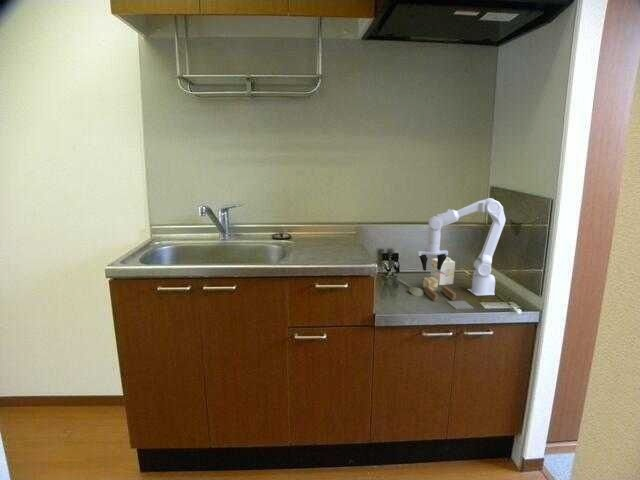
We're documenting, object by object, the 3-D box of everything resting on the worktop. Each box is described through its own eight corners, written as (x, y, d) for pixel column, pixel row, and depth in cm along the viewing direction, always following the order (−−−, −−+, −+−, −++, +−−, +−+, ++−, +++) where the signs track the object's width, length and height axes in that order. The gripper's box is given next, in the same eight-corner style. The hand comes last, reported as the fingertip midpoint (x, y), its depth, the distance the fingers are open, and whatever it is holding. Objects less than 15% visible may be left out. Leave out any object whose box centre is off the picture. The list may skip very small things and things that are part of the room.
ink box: (429, 280, 202) (431, 255, 200) (443, 278, 205) (445, 253, 202) (439, 285, 194) (441, 259, 191) (453, 284, 197) (456, 258, 194)
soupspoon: (413, 298, 179) (426, 298, 181) (414, 291, 178) (427, 291, 180) (393, 281, 200) (405, 281, 201) (393, 275, 199) (405, 275, 200)
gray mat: (464, 301, 173) (464, 300, 173) (473, 308, 166) (473, 307, 165) (447, 302, 172) (447, 301, 172) (455, 309, 164) (455, 308, 164)
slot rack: (444, 291, 185) (445, 285, 185) (455, 300, 175) (456, 293, 174) (424, 292, 184) (424, 286, 183) (434, 301, 173) (434, 294, 173)
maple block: (431, 286, 192) (432, 277, 191) (437, 291, 187) (438, 281, 186) (423, 287, 192) (424, 277, 191) (428, 291, 186) (429, 281, 185)
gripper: (444, 239, 189) (442, 267, 192) (415, 240, 187) (413, 267, 190) (451, 243, 183) (448, 271, 186) (421, 243, 181) (419, 272, 183)
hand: (431, 269), depth 187 cm, fingers open, 7 cm apart
